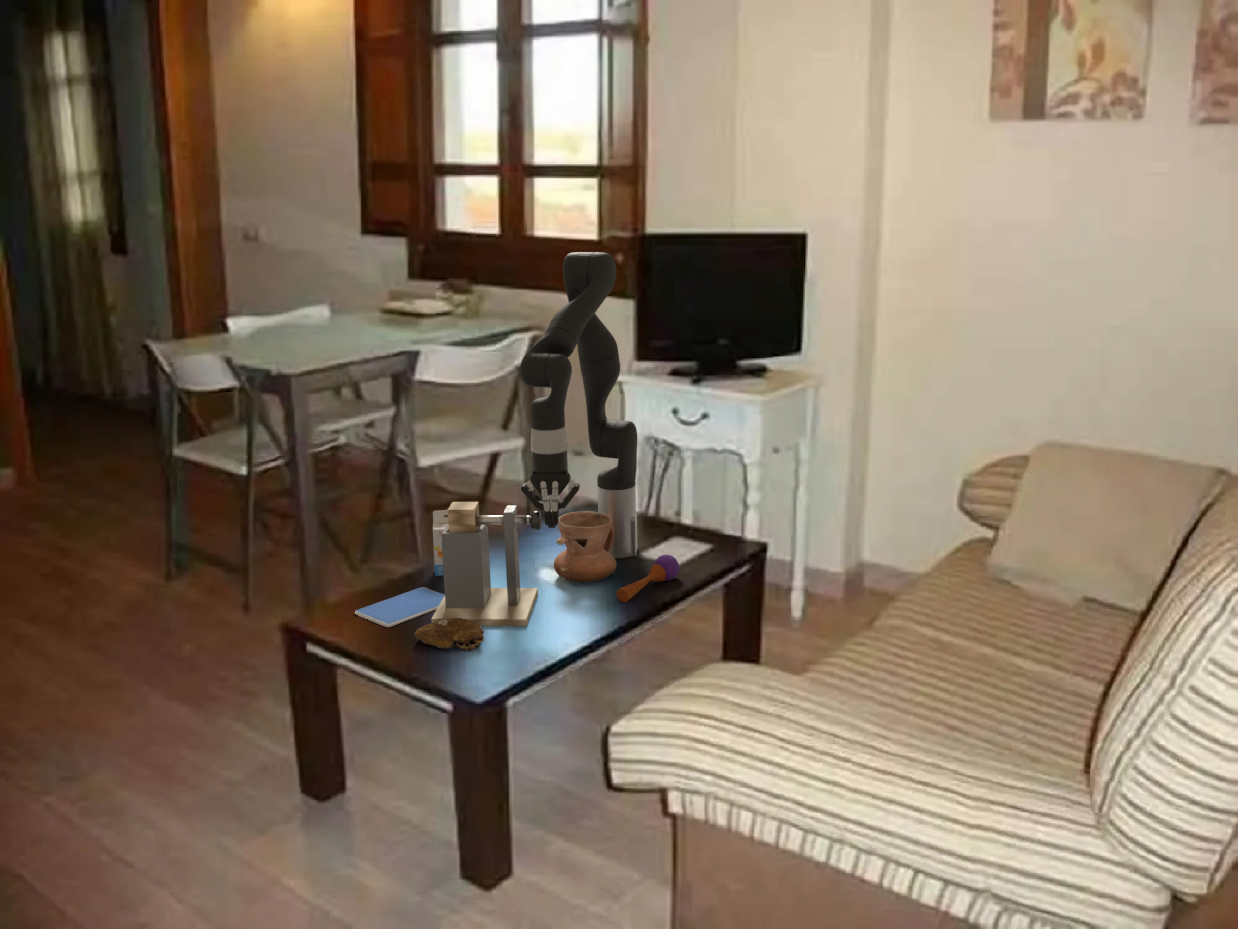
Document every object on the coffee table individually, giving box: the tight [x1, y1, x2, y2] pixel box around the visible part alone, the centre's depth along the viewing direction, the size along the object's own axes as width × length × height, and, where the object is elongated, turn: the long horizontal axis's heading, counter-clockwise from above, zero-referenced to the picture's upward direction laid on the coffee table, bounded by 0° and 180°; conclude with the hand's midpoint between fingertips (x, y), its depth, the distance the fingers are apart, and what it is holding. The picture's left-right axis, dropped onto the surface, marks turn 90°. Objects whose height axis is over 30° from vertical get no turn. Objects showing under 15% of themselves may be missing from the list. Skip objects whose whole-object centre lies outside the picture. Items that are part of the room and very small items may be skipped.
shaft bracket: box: [503, 504, 521, 606], centre depth 255 cm, size 2×5×21 cm, turn 176°
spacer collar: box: [447, 501, 480, 533], centre depth 254 cm, size 6×6×6 cm
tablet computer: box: [354, 586, 445, 628], centre depth 260 cm, size 19×13×1 cm, turn 138°
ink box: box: [432, 509, 448, 577], centre depth 279 cm, size 8×5×15 cm, turn 98°
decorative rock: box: [413, 618, 485, 652], centre depth 241 cm, size 11×4×15 cm
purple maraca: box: [616, 554, 680, 604], centre depth 267 cm, size 6×6×20 cm
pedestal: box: [442, 524, 492, 609], centre depth 256 cm, size 8×8×17 cm
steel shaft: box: [475, 510, 542, 531], centre depth 253 cm, size 20×4×4 cm, turn 86°
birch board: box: [431, 587, 539, 627], centre depth 258 cm, size 20×18×2 cm
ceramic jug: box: [553, 510, 617, 583], centre depth 275 cm, size 18×14×14 cm
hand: (552, 526), depth 253 cm, fingers closed
